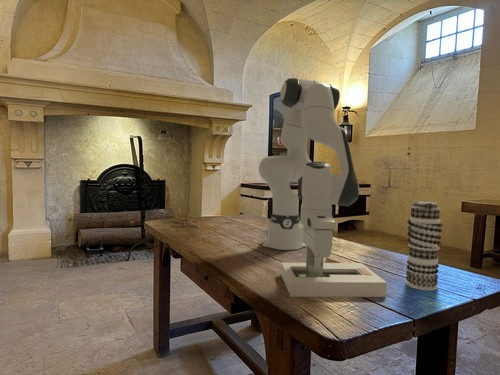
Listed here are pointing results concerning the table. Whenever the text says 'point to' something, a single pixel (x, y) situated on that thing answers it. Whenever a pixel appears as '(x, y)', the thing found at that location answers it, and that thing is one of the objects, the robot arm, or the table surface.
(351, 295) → the keyhole plate
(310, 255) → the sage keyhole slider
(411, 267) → the decorative candle
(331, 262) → the shard
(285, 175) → the robot arm
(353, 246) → the table surface
